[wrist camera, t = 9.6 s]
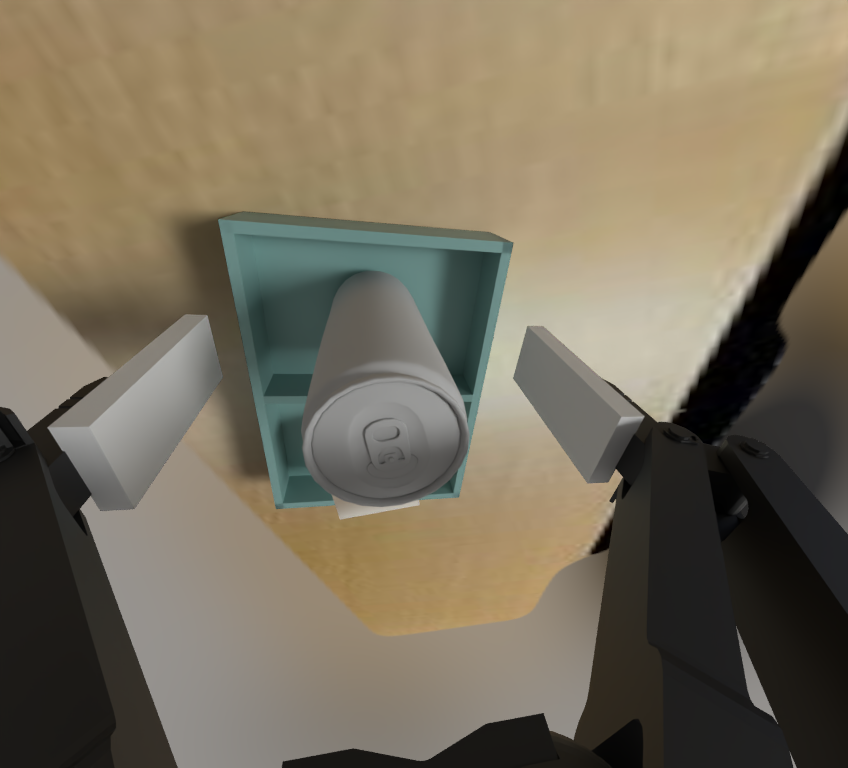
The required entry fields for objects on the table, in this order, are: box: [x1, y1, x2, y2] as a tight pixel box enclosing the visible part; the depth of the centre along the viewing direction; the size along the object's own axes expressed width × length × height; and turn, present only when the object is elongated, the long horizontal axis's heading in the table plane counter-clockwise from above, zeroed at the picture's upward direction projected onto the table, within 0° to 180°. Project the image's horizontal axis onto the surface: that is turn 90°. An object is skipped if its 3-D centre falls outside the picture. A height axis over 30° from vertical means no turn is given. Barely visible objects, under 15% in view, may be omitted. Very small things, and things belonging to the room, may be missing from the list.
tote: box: [218, 212, 513, 509], centre depth 21 cm, size 18×13×4 cm
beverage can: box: [301, 271, 470, 507], centre depth 14 cm, size 5×5×12 cm
